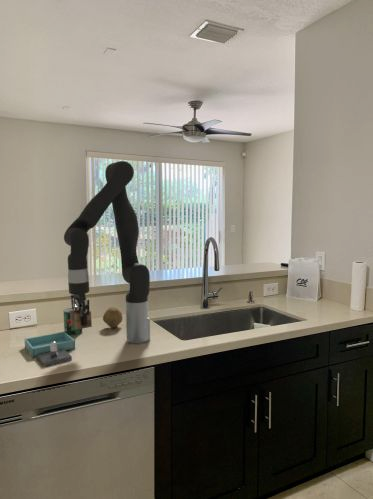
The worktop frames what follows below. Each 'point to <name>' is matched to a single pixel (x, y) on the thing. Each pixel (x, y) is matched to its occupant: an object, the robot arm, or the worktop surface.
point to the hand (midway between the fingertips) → (81, 323)
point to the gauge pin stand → (54, 356)
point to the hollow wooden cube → (79, 320)
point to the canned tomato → (67, 324)
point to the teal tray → (43, 343)
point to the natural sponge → (112, 317)
